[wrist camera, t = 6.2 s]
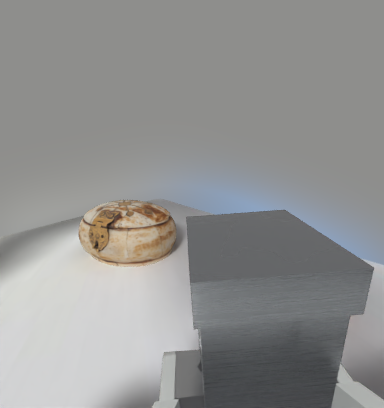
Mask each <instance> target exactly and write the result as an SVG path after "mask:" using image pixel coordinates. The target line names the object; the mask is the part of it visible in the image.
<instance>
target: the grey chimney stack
mask: <svg viewBox="0 0 384 408" xmlns="http://www.w3.org/2000/svg"><path fill="white" fill-rule="evenodd" d="M186 219H187V236H188V253H189V271H190V287H191V300H192V313H193V326H194V329H198V336H199V350H200V355H201V367H202V378H203V392H204V406H205V408H331V406H332V401H333V396H334V391H335V387H336V382H337V377H338V372H339V367H340V362H341V358H342V353H343V348H344V343H345V338H346V333H347V329H348V324H349V319H350V315H360V314H364V309H365V305H366V301H367V296H368V292H369V288H370V283H371V279H372V274H373V270H374V267H372V266H371V265H369V264H367V263H366V262H364V261H363V260H361V259H360V258H358V257H357V256H355V255H354V254H352V253H351V252H349V251H347V250H346V249H344V248H343V247H341V246H340V245H338V244H337V243H335V242H334V241H332V240H331V239H329V238H328V237H326V236H324V235H323V234H321V233H320V232H318V231H317V230H315V229H314V228H312V227H311V226H309V225H307V224H306V223H304V222H303V221H301V220H300V219H298V218H297V217H295V216H294V215H292V214H290V213H289V212H288V211H286V210H275V211H263V212H262V211H261V212H249V213H234V214H222V215H207V216H194V217H186Z"/></svg>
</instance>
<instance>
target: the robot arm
mask: <svg viewBox="0 0 384 408" xmlns="http://www.w3.org/2000/svg"><path fill="white" fill-rule="evenodd" d="M151 408H205V406H204V392H203V378H202V367H201V355H200V350H190V351H174V352H164V355H163V362H162V373H161V384H160V395H159V401H155V402H154V404H153V406H152V407H151ZM331 408H384V400H383V399H382V398H380V397H379V396H378V395H376V394H375V393H373V392H372V391H371V390H369V389H368V388H367V387H365V386H364V385H362V384H361V383H360V382H358V381H357V382H354V381H353V379H352V378H351V377H350V375H349V374H348V373H347V371H346V370H345V368H344V367H343V366H342V364H341V363H340V367H339V372H338V377H337V382H336V387H335V391H334V396H333V401H332V406H331Z"/></svg>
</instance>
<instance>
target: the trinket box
mask: <svg viewBox="0 0 384 408" xmlns="http://www.w3.org/2000/svg"><path fill="white" fill-rule="evenodd" d="M79 239H80V242H81V244H82V246H83V248H84V249H85V251H86V252H88V253H90V254H91V256H92V257H93V258H95V259H96V260H98V261H100V262H103V263H105V264H109V265H113V266H120V267H139V266H145V265H150V264H154V263H156V262H159V261H161V260H163V259H165V258H166V257H168V256H169V255H170V254H171V252H172V246H173V245H174V243H175V240H176V226H175V223H174V220H173V219H172V217H171V216H170V213H169V212H168V211H167V210H166V209H164V208H163V207H160V206H158V205H155V204H152V203H148V202H143V201H134V200H119V201H112V202H108V203H104V204H101V205H99V206H97V207H94V208H93V209H91V210H89V211H88V212H87V213H85V215H84V217H83V219H82V220H81V223H80V226H79Z"/></svg>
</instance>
